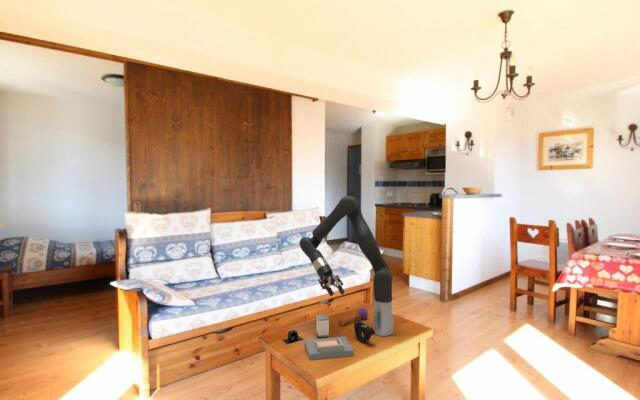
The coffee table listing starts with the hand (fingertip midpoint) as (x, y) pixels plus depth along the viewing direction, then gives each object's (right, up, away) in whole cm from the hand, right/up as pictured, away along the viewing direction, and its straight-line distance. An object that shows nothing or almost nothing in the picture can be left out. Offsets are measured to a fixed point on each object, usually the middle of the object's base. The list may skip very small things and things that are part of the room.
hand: (337, 294), depth 167 cm
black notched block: (-22, -23, -1) cm, 32 cm away
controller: (+13, -23, -3) cm, 26 cm away
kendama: (+10, -22, +22) cm, 32 cm away
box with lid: (-8, -22, +1) cm, 23 cm away
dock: (-5, -23, -12) cm, 26 cm away
